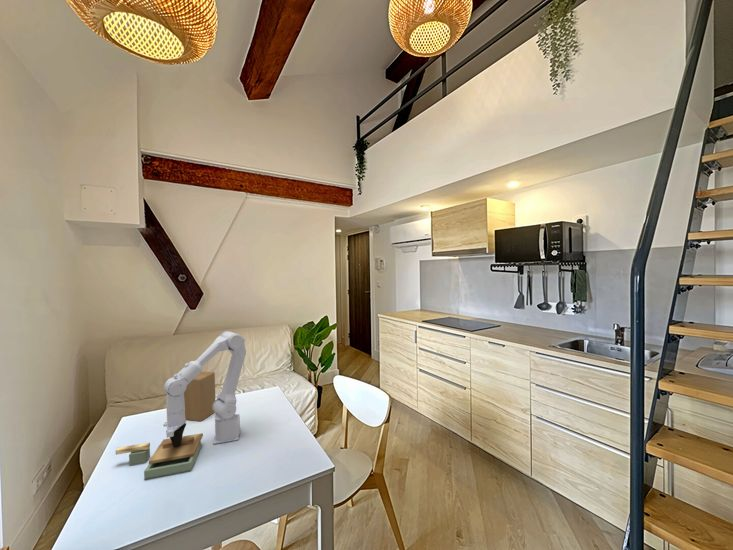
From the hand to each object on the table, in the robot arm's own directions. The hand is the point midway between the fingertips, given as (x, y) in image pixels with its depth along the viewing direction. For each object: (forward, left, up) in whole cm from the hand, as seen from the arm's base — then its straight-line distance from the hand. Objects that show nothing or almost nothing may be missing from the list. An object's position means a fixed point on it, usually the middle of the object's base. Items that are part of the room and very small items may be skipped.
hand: (177, 445), depth 111 cm
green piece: (0, +3, -5) cm, 5 cm away
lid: (0, -1, -2) cm, 2 cm away
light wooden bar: (+15, -3, 0) cm, 15 cm away
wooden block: (0, -34, -5) cm, 35 cm away
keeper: (+13, -3, -5) cm, 14 cm away
